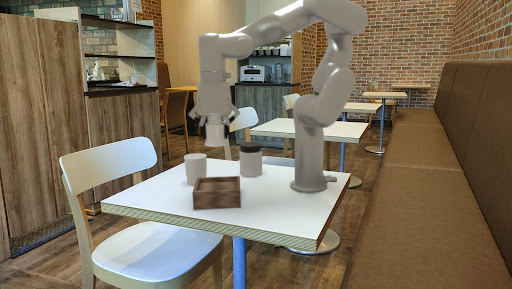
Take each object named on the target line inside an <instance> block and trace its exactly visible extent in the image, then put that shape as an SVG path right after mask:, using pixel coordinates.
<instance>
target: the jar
mask: <svg viewBox="0 0 512 289" xmlns="http://www.w3.org/2000/svg"><path fill="white" fill-rule="evenodd" d="M238 156H239V174H240V175H241V176H242V177H243V178H252V179H253V178H256V177H260V176H263V151H262V144H261V143H260V142H258V141H257V142H256V141H246V142H245V141H244V142H241V143H240V144H239V154H238Z"/></svg>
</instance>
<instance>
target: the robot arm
mask: <svg viewBox="0 0 512 289" xmlns="http://www.w3.org/2000/svg"><path fill="white" fill-rule="evenodd" d="M368 17H369V16H368V13H367V11H366V9H365V8H364V7H363V6H362V5H360V4H358V3H356V2H355V1H351V0H294V1H293V2H290V3H289V4H285V5H284V6H282V7H280V8H278V9H276V10H274V11H272V12H270V13H268V14H266V15H264V16H263V17H261V18H259V19H257V20H255V21H254V22H252V23H250V24H247V25H245V26H243V27H241V28H239V29H237V30H235V31H234V32H231V33H220V32H219V33H218V32H206V33H205V32H204V33H201V34H200V35H199V36H198V40H197V41H198V42H197V43H198V59H199V60H198V61H199V76H200V77H199V80H200V82H198V83H197V87H196V88H197V91H196V104H195V106H194V107H193V108H192V109H191V110H190V112H188V116H189V117H190V118H192V120H194V122H196V124H198V125H199V127H200V136H201V137H203V140H206V128H205V123H206V120H207V117H211V116H209V115H211V114H209V113H220V114H216V115H220V116H223V117H222V118H223V121H224V123H225V140H227V139H228V136H230V134H231V132H230V127H231V126H230V125H231V124H233V122H234V121H235V120H236V118H238V117H239V116H240V115H241V111H240V110H239V109H238V108H237V107H236V106H235V105H234V104H233V103H232V92H231V88H230V87H231V86H230V82H229V81H227V79H231V78H232V73H231V72H230V73H229V72H226V70H227V68H226V65H227V63H226V60H232V61H233V60H243V59H244V60H245V59H247V58H248V57H249V56H251V55H252V53H253V51H254V50H256V49H258V48H260V47H263V46H265V45H268V44H273V43H277V42H279V41H282V40H284V39H287V38H288V37H291V36H292V35H294V34H296V33H298V32H300V31H302V30H304V29H306V28H309V27H310V26H311V25H314V24H316V23H321V22H322V23H323V28H324V31H325V32H324V33H325V35H326V37H327V48H326V51H325V52H324V55H323V57H322V59H321V60H320V63H319V64H318V66H317V68H316V70H315V71H314V73H313V75H312V78H311V87H312V89H313V90H314V91H315V92H316V93H318V94H317V95H316V94H309V93H308V94H303V95H300V96H299V97H297V99H295V101H294V103H293V106H292V118H293V122H294V180H292V181H290V183H289V184H290V185H289V186H290V189H291V190H293V191H295V192H298V193H304V194H316V193H321V192H325V191H326V190H327V189H328V183H337V182H338V177H337V176H332V175H328V174H327V175H325V174H324V152H325V151H324V148H325V147H324V146H325V145H324V144H325V143H324V142H325V134H324V128H328V127H331V126H332V125H334V124H335V123H336V122H337V120H338V118H339V117H340V116H341V114H342V112H343V110H344V108H345V107H346V104H347V103H348V101H349V99H350V97H351V95H352V93H353V91H354V89H355V85H356V76H355V74H354V71H353V70H352V69H351V68H350V67H349V64H350V62H351V61H352V57H353V54H354V47H353V46H354V45H353V41H352V37H351V36H353V35H357V34H360V33H361V32H363V31H365V29H366V27H367V25H368V22H369V20H368V19H369V18H368ZM232 111H233V114H232ZM196 113H197V114H196ZM231 114H232V115H231ZM229 116H230V117H229ZM200 117H201V118H200Z"/></svg>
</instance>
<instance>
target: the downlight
mask: <svg viewBox="0 0 512 289" xmlns="http://www.w3.org/2000/svg"><path fill="white" fill-rule="evenodd" d="M209 114H211V115H209V116H211V117H206V120H207V122H204V123H205V128H206V139H205V142H204V143H203V145H204V146H205V147H210V148H217V147H218V148H219V147H223V146H224V147H225V146H227V145H228V141H226V138H225V123H226V122H225V121H224V118H223V116H220V115H216V114H220V113H209Z"/></svg>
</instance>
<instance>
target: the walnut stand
mask: <svg viewBox="0 0 512 289" xmlns="http://www.w3.org/2000/svg"><path fill="white" fill-rule="evenodd" d="M240 178H241V176H240V175H233V176H232V175H231V176H230V175H229V176H226V175H225V176H206V177H197V180H196V183H195V186H193V189H192V193H191V194H192V208H193V211H199V210H223V209H224V210H227V209H228V210H229V209H242V204H241V203H242V200H241V199H242V198H241V196H242V195H241V179H240Z"/></svg>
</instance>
